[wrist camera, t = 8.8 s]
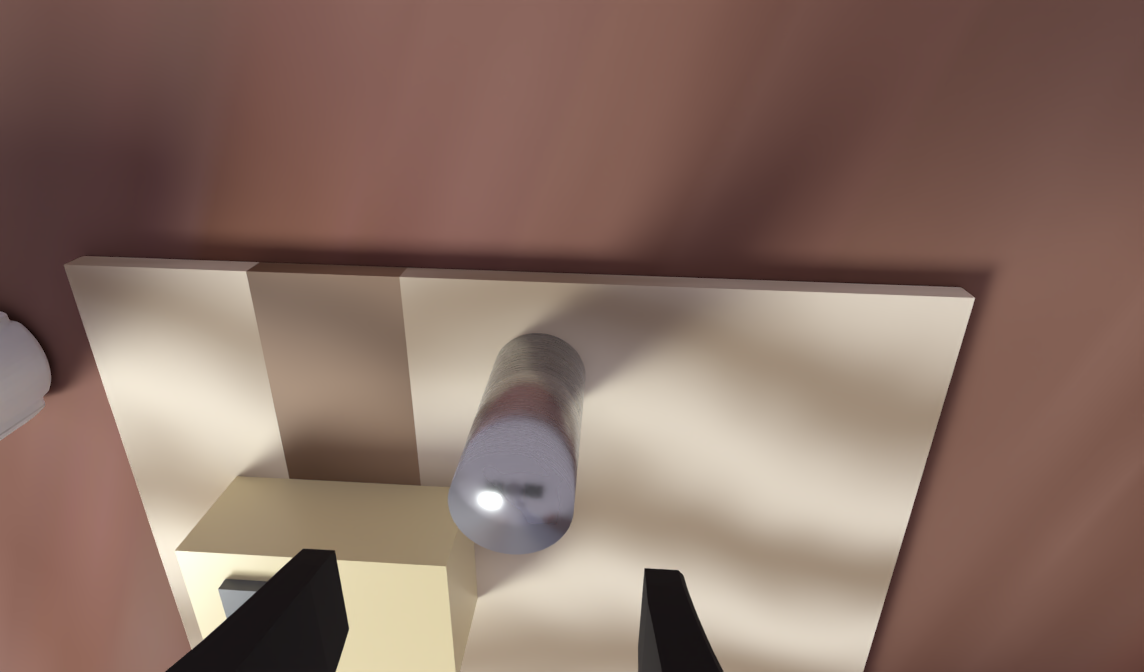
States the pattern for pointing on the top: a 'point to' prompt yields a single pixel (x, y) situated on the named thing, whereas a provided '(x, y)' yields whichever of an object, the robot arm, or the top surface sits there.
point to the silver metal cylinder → (522, 449)
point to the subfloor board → (607, 442)
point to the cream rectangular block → (344, 564)
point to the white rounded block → (20, 375)
